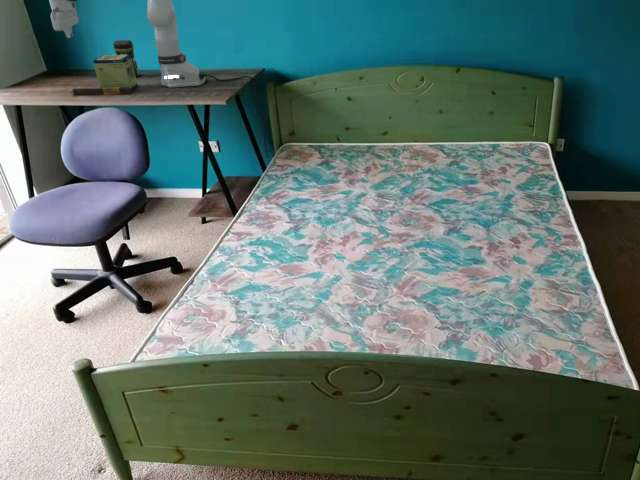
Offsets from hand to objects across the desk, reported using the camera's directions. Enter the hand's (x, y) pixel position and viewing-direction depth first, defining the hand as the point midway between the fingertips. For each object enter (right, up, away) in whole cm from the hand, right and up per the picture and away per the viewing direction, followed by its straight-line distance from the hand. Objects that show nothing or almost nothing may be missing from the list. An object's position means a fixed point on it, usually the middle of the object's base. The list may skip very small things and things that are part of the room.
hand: (70, 37), depth 290 cm
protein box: (+19, -21, +13) cm, 31 cm away
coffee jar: (+16, -8, +34) cm, 38 cm away
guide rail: (+13, -26, +6) cm, 30 cm away
